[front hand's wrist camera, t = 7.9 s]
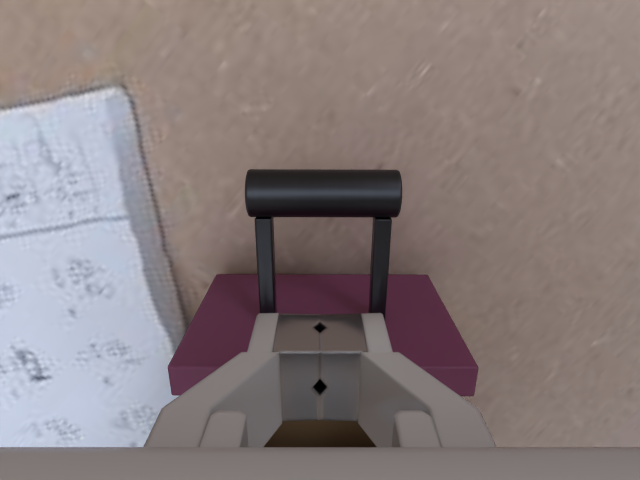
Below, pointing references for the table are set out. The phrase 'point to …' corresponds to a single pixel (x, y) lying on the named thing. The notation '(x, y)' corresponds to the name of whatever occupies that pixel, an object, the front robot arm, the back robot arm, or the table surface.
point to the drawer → (323, 294)
